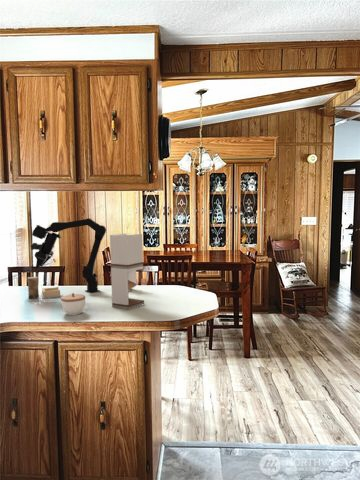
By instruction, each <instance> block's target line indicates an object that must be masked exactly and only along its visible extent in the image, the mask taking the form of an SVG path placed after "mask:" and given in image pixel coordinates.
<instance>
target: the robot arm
mask: <svg viewBox="0 0 360 480" xmlns="http://www.w3.org/2000/svg"><path fill="white" fill-rule="evenodd" d="M84 226H87V227H90V229H92V230H93V231H94V241H93V245H92V249H91V250H90V251H91V252H90V255H89V258H88V262H87V264H84V265H83V268H82V271H81V274H82V278H84V280H85V281H86V289H85V290H84V292H85V293H91V294H92V293H97V292H100V291H101V290H100V289H98V288H99V286H98V280H97V279H98V277H99V275H97V274H96V273H95V265H96V262H97V261H96V260H97V258H98V253H99V249H100V247H101V245H102V244H101V243H102V241H103V239H104V237H105V236H106V233H107V227H106V226H104V225H102V224H101V225H100V224H99V223H98V222H96V221H95V220H93V219H92V218H89V217H88V218H86V219H84V218H83V219H79V220H73V221H55V222H54V221H53V222H52V223H51V224H50V225H49V226H48V227H43V226H41V225H40V224H36V226H35V228H34V229H33V230H32V233H31V236H33V237H35V238H37V239H40V240H43V239H44V242H42V243H37V242H33V243H31V244H30V250H33V251H34V250H37V251H36V252H35V254H34V257H35V258H36V264H35V269H37V270H39V268H41V267H43V266H44V265H45V264H46V263H48V261H50V259H51V258H53V256H54V251H53V249H54V248H55V244H56V241H57V239H61V238H62V236H61V234H60V233H58V232H63V231H65V230H67V229H73V228H78V227H84Z"/></svg>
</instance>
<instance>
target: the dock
mask: <svg viewBox="0 0 360 480" xmlns="http://www.w3.org/2000/svg"><path fill="white" fill-rule="evenodd" d="M41 292H42V293H40V295H41V298H42V299H43V300H44V299H53V298H61V297H63V296H64V295H63V293H62V291H61V289H59V286H54V287H53V286H52V287H43V288H42V289H41Z"/></svg>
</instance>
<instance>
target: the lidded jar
mask: <svg viewBox="0 0 360 480" xmlns="http://www.w3.org/2000/svg"><path fill="white" fill-rule="evenodd" d="M60 301H61V302H60V303H61V308H62V310H63V312H64V313H65V314H66V315H68V316H77V315H80V314H81V313H82V312H83V310H84V309H85V306H86V295H85V294H80V293H74V292H72V293H71V294H67V295H63V297H60Z"/></svg>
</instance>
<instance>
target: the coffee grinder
mask: <svg viewBox="0 0 360 480" xmlns="http://www.w3.org/2000/svg"><path fill="white" fill-rule="evenodd" d="M109 244H110V245H109V248H110V250H109V251H110V253H109V254H110V277H111V278H110V279H111V280H110V281H111V305H112V306H111V307H112V308H116V309H123V310H128V309H129V310H128V311H130V310H132V308H133V309H135V308H138V307H141V306H143V305H142V304H144V305H145V300H144V299H139V298H129V296H130V295H129V290H131V289H133V288H135V287H136V286H137V271H140V270H143V269H144V256H143V255H144V250H143V248H144V247H143V244H144V243H143V233H136V234H127V233H119V234H117V233H116V234H109ZM140 305H141V306H140ZM137 306H138V307H137Z"/></svg>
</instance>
